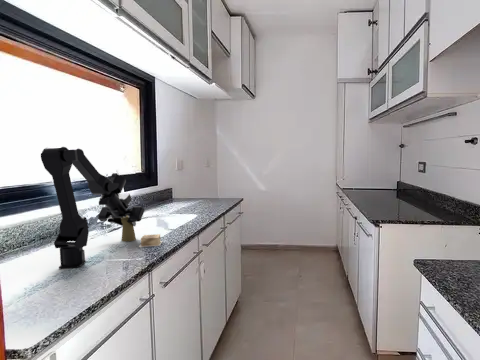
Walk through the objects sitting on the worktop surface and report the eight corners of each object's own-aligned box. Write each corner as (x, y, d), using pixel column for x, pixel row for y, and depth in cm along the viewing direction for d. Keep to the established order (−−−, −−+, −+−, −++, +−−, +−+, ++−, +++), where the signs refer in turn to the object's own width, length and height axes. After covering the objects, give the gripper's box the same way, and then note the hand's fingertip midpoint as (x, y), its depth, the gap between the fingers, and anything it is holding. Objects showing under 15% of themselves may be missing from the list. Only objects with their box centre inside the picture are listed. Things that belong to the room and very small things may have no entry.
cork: (131, 243, 151) (130, 216, 151) (118, 242, 152) (117, 216, 152) (138, 239, 157) (137, 214, 157) (125, 239, 158) (124, 214, 158)
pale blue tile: (127, 250, 140) (127, 248, 140) (133, 243, 151) (133, 241, 151) (159, 248, 140) (159, 246, 140) (163, 241, 151) (163, 240, 151)
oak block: (141, 246, 142) (140, 238, 142) (144, 242, 149) (143, 235, 148) (158, 245, 143) (157, 237, 142) (160, 241, 149) (160, 234, 149)
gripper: (141, 187, 147) (155, 210, 159) (100, 187, 152) (117, 210, 163) (131, 209, 140) (147, 231, 152) (89, 209, 145) (107, 231, 156)
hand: (129, 225), depth 156 cm, fingers closed on cork, 5 cm apart
